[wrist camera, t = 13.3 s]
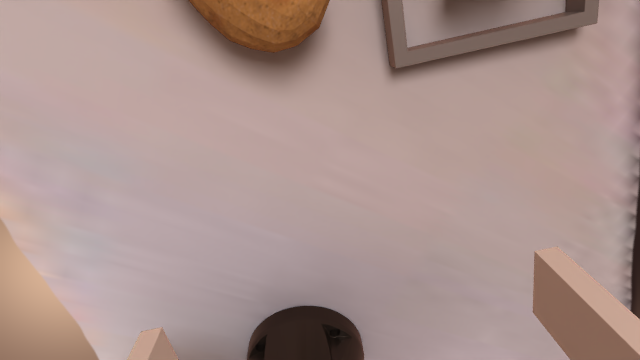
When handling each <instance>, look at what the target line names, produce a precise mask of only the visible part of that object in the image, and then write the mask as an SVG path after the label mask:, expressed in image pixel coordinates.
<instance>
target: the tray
mask: <svg viewBox="0 0 640 360" xmlns="http://www.w3.org/2000/svg"><path fill="white" fill-rule="evenodd" d="M381 1H382V9H383V17H384V24H385V32H386V40H387V48H388V55H389V63H390V66H392V67H394V68H400V67H405V66H409V65H413V64H418V63H422V62H427V61H431V60H436V59H440V58H445V57H449V56H454V55H458V54H462V53H467V52H471V51H476V50H480V49H485V48H489V47H494V46H498V45H503V44H507V43H511V42H516V41H520V40H525V39H529V38H534V37H538V36H543V35H547V34H552V33H556V32H560V31H565V30H569V29H574V28H578V27H583V26H587V25H592V24H596V23H597V19H598V7H599V0H566V12H564V13H559V14H555V15H551V16H546V17H542V18H537V19H533V20H529V21H524V22H520V23H515V24H511V25H506V26H502V27H498V28H493V29H489V30H484V31H480V32H475V33H471V34H467V35H462V36H458V37H453V38H449V39H445V40H440V41H436V42H431V43H427V44H422V45H418V46H414V47H409V48H407V41H406V32H405V22H404V13H403V4H402V0H381Z"/></svg>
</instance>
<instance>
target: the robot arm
mask: <svg viewBox="0 0 640 360" xmlns="http://www.w3.org/2000/svg"><path fill="white" fill-rule="evenodd" d="M533 313H534V314H535V316H536V317H537V318H538V319H539V321H540V322H541V323H542V324H543V326H544V327H545V328H546V329H547V331H548V332H549V333H550V334H551V336H552V337H553V338H554V340H555V341H556V342H557V343H558V345H559V346H560V347H561V348H562V350H563V351H564V352H565V353H566V355H567V356H568V357H569V358H570V360H640V319H638V318H637V317H636V316H635V315H634V314H633V313H632V312H631V311H629V310H628V309H627V308H626V307H625V306H624V305H623V304H621V303H620V302H619V301H618V300H617V299H616V298H615V297H614V296H612V295H611V294H610V293H609V292H608V291H607V290H606V289H605V288H603V287H602V286H601V285H600V284H599V283H598V282H597V281H595V280H594V279H593V278H592V277H591V276H590V275H589V274H588V273H586V272H585V271H584V270H583V269H582V268H581V267H580V266H579V265H577V264H576V263H575V262H574V261H573V260H572V259H571V258H570V257H568V256H567V255H566V254H565V253H564V252H563V251H562V250H560V249H559V248H558V247H553V248H548V249H543V250H538V251H535V257H534V290H533ZM127 360H179V359H178V357H177V355H176V353H175V351H174V350H173V348H172V346H171V344H170V342H169V340H168V338H167V336H166V334H165V332H164V330H163V328H162V327H161V328H156V329H151V330H147V331H142V332H141V333H140V335H139V337H138V339H137V341H136V343H135V345H134V347H133V349H132V351H131V353H130V355H129V357H128V359H127ZM247 360H364V351H363V346H362V341H361V337H360V334H359V332H358V330H357V328H356V327H355V326H354V324H353V323H352V322H351V321H350V320H349V319H347V318H346V317H345V316H343V315H341V314H340V313H338V312H335V311H333V310H330V309H327V308H322V307H316V306H300V307H293V308H289V309H285V310H282V311H280V312H277V313H275V314H273V315H271V316H270V317H268V318H267V319H265V320H264V321H263V322H262V323H261V324H260V325H259V326H258V327H257V328H256V330H255V331H254V333H253V335H252V337H251V339H250V343H249V349H248V356H247Z"/></svg>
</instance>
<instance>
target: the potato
mask: <svg viewBox="0 0 640 360" xmlns="http://www.w3.org/2000/svg"><path fill="white" fill-rule="evenodd" d="M189 1H190V2H191V3H192V5H193V6H194V7H195V8H196V9H197V10H198V11H199V12H200V13H201V15H202V16H203V17H204V18H205V19H206V20H207V21H208V22H209V23H210V24H211V25H212V26H213V27H215V28H216V29H217V30H218V31H219V32H220V33H222V34H223V35H224V36H225V37H226V38H227V39H229V40H230V41H232V42H235V43H237V44H240V45H243V46H245V47H248V48H251V49H255V50H261V51H267V52H273V53H274V52H278V51H281V50H284V49H288V48H291V47H294V46H297V45H298V44H300V43H301V42H302V41H303V40H304V39H306V38H307V37H308V36H309V35H311V34H312V33H313V32H314V31H315V30H317V29H318V28H319V27H320V24H321V21H322V19H323V16H324V14H325V11H326V8H327V6H328V3H329V1H330V0H189Z"/></svg>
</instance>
